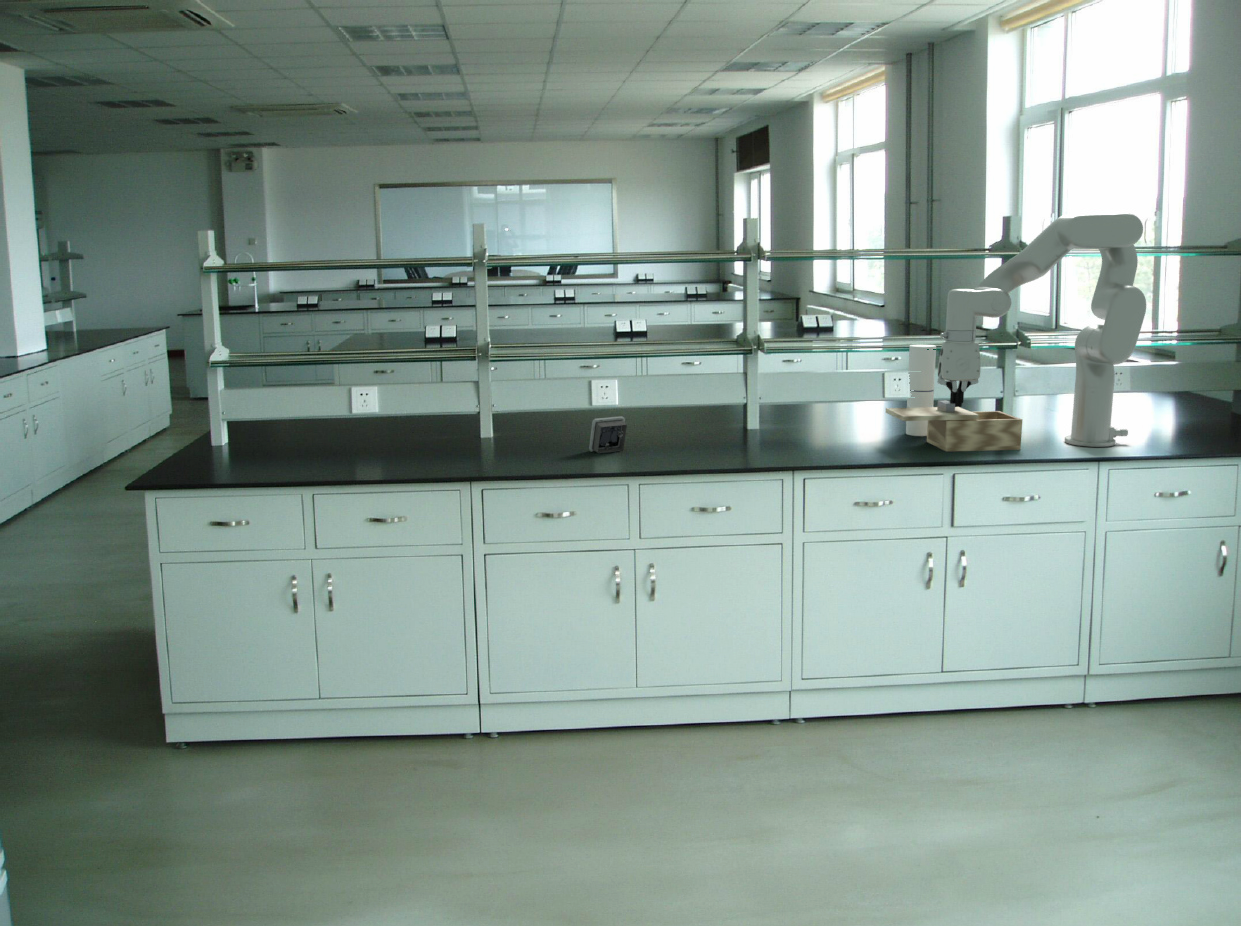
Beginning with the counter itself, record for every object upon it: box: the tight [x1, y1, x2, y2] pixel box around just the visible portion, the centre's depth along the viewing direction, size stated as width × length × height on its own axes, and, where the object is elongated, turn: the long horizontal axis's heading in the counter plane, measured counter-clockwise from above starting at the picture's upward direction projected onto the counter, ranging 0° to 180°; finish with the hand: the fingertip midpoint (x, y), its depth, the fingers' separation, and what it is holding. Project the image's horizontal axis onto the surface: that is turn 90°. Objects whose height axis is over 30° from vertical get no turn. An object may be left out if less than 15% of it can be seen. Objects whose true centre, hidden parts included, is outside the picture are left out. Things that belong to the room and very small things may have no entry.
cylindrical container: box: [905, 343, 937, 437], centre depth 302 cm, size 7×7×25 cm
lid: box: [885, 399, 979, 422], centre depth 283 cm, size 20×14×4 cm
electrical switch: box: [588, 416, 628, 454], centre depth 282 cm, size 9×5×9 cm, turn 118°
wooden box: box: [926, 410, 1023, 452], centre depth 286 cm, size 20×14×8 cm
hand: (956, 406), depth 284 cm, fingers closed
